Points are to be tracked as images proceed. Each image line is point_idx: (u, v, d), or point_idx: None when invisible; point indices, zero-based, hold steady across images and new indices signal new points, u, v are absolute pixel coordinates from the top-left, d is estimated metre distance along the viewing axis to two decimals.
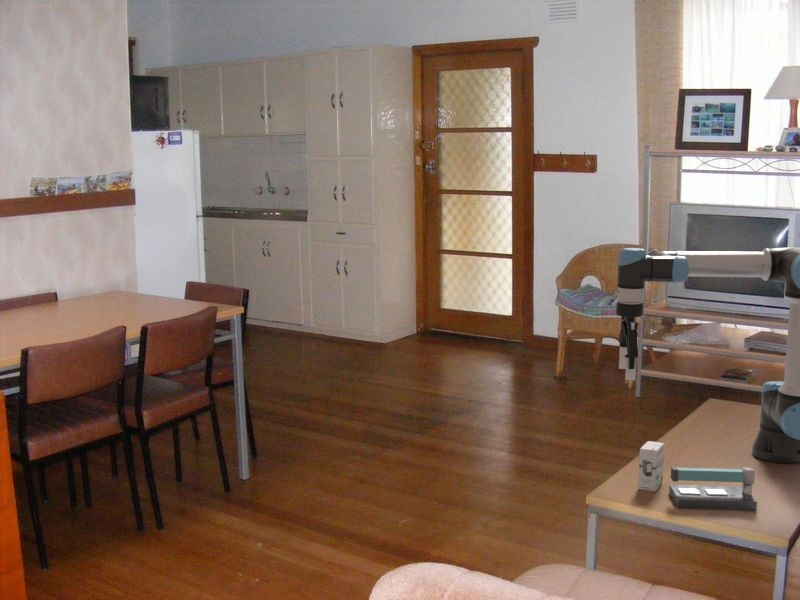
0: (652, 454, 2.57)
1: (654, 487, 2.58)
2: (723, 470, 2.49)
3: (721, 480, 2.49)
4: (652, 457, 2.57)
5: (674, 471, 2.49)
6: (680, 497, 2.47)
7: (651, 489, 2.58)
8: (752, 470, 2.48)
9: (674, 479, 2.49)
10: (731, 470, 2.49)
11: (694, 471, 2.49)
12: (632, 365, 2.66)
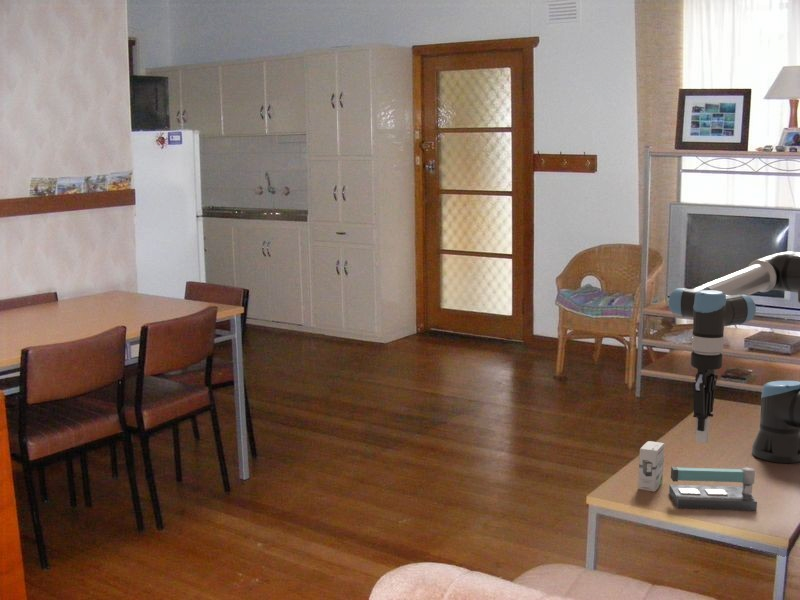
0: (652, 454, 2.57)
1: (654, 487, 2.58)
2: (723, 470, 2.49)
3: (721, 480, 2.49)
4: (652, 457, 2.57)
5: (674, 471, 2.49)
6: (680, 497, 2.47)
7: (651, 489, 2.58)
8: (752, 470, 2.48)
9: (674, 479, 2.49)
10: (731, 470, 2.49)
11: (694, 471, 2.49)
12: (700, 426, 2.40)
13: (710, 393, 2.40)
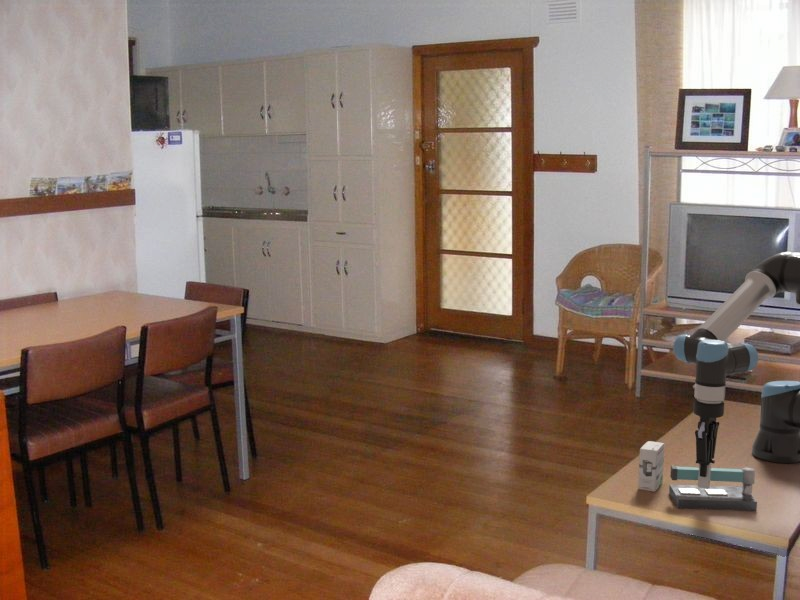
0: (652, 454, 2.57)
1: (654, 487, 2.58)
2: (723, 470, 2.49)
3: (720, 480, 2.49)
4: (652, 457, 2.57)
5: (673, 470, 2.50)
6: (680, 497, 2.47)
7: (651, 489, 2.58)
8: (752, 470, 2.48)
9: (673, 478, 2.50)
10: (731, 470, 2.49)
11: (693, 470, 2.49)
12: (703, 472, 2.45)
13: (712, 440, 2.46)
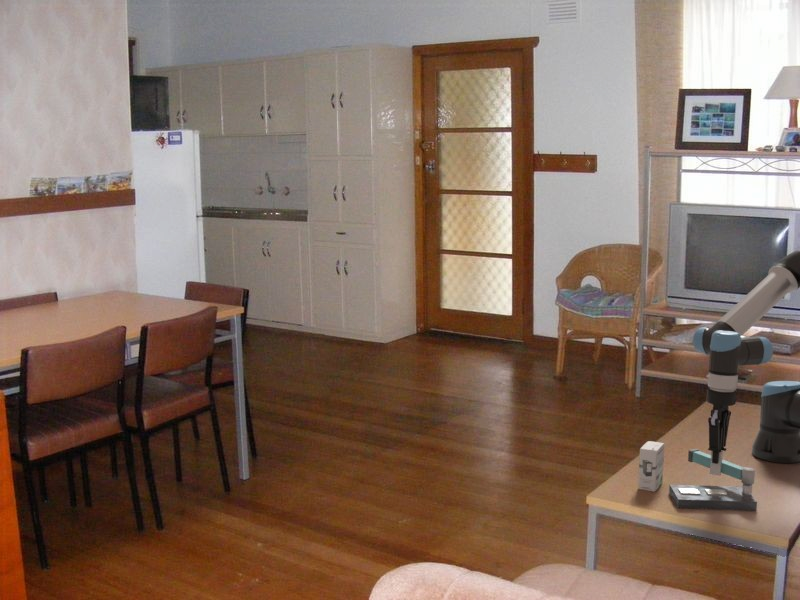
0: (652, 454, 2.57)
1: (654, 487, 2.58)
2: (728, 463, 2.54)
3: (723, 472, 2.55)
4: (652, 457, 2.57)
5: (689, 452, 2.65)
6: (680, 497, 2.47)
7: (651, 489, 2.58)
8: (749, 470, 2.48)
9: (689, 459, 2.65)
10: (734, 466, 2.52)
11: (704, 457, 2.60)
12: (715, 459, 2.54)
13: (724, 428, 2.54)
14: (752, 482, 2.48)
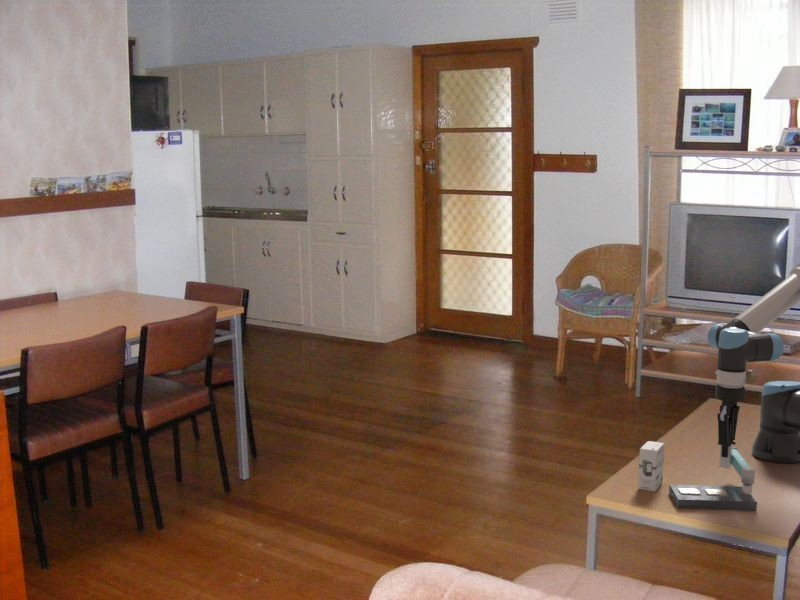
0: (652, 454, 2.57)
1: (654, 487, 2.58)
2: (741, 462, 2.55)
3: (737, 470, 2.56)
4: (652, 457, 2.57)
5: None
6: (680, 497, 2.47)
7: (651, 489, 2.58)
8: (746, 470, 2.48)
9: None
10: (743, 465, 2.53)
11: None
12: (724, 453, 2.61)
13: (733, 423, 2.61)
14: (749, 482, 2.48)
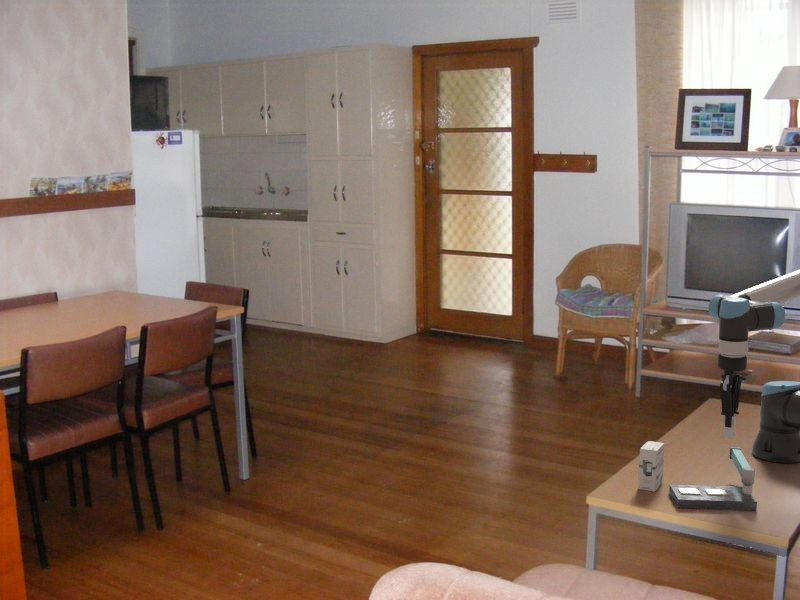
0: (652, 454, 2.57)
1: (654, 487, 2.58)
2: (742, 462, 2.55)
3: (738, 470, 2.56)
4: (652, 457, 2.57)
5: (730, 448, 2.68)
6: (680, 497, 2.47)
7: (651, 489, 2.58)
8: (746, 470, 2.48)
9: (729, 456, 2.68)
10: (744, 465, 2.53)
11: (734, 454, 2.63)
12: (728, 423, 2.60)
13: (736, 392, 2.60)
14: (748, 482, 2.48)
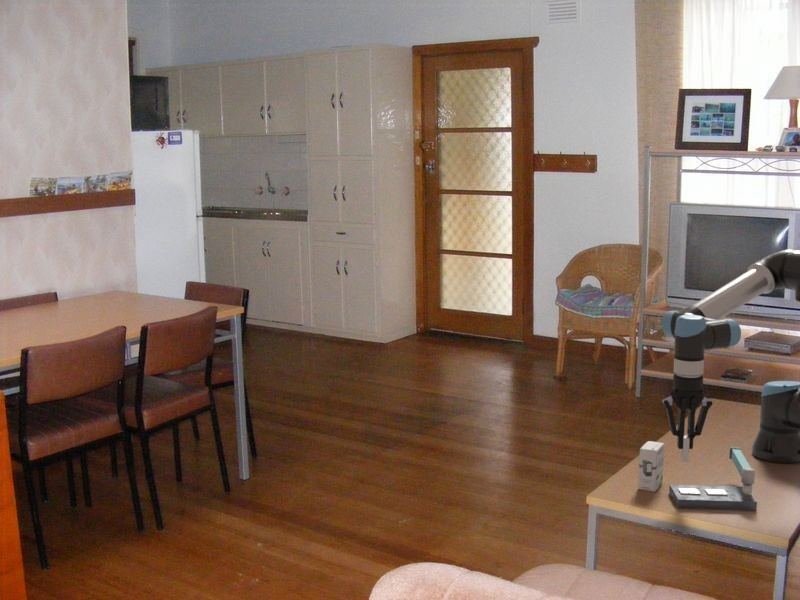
0: (652, 454, 2.57)
1: (654, 487, 2.58)
2: (742, 462, 2.55)
3: (738, 470, 2.56)
4: (652, 457, 2.57)
5: (730, 448, 2.68)
6: (680, 497, 2.47)
7: (651, 489, 2.58)
8: (746, 470, 2.48)
9: (729, 456, 2.68)
10: (744, 465, 2.53)
11: (734, 454, 2.63)
12: (678, 444, 2.51)
13: (691, 415, 2.48)
14: (748, 482, 2.48)
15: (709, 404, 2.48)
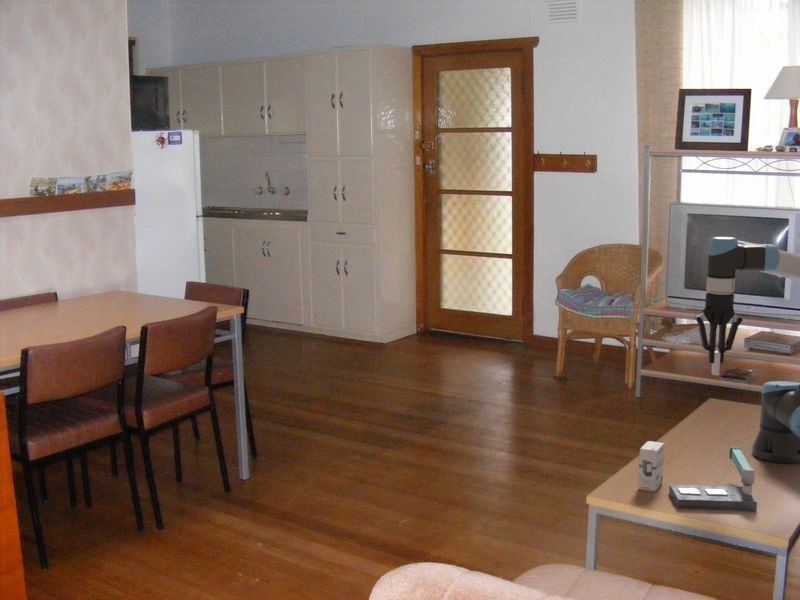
0: (652, 454, 2.57)
1: (654, 487, 2.58)
2: (742, 462, 2.55)
3: (738, 470, 2.56)
4: (652, 457, 2.57)
5: (730, 448, 2.68)
6: (680, 497, 2.47)
7: (651, 489, 2.58)
8: (746, 470, 2.48)
9: (729, 456, 2.68)
10: (744, 465, 2.53)
11: (734, 454, 2.63)
12: (709, 358, 2.68)
13: (722, 331, 2.65)
14: (748, 482, 2.48)
15: (739, 320, 2.64)
